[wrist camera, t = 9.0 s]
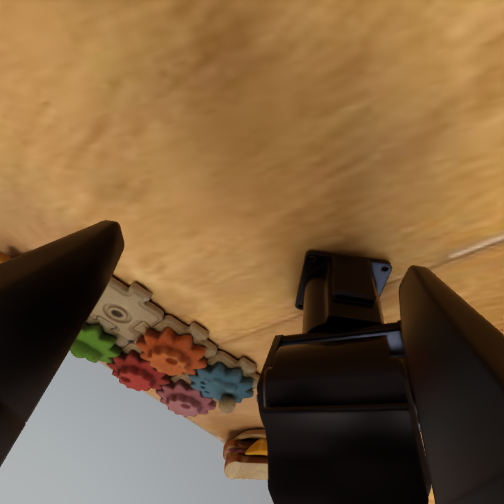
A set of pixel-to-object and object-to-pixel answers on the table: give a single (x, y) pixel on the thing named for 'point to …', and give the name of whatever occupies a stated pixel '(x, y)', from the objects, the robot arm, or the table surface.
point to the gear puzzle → (161, 353)
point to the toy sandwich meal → (247, 456)
